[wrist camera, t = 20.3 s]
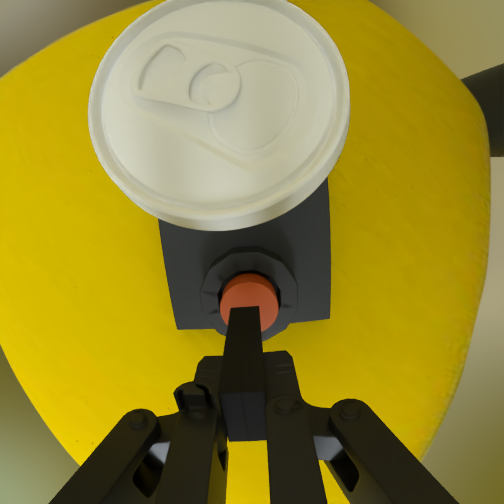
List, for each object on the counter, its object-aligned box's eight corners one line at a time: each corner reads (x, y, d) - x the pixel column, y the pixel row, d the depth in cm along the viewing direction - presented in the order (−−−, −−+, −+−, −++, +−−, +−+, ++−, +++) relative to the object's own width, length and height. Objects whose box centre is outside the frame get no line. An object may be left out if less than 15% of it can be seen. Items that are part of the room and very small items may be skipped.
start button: (219, 274, 18) (216, 284, 16) (274, 270, 18) (276, 279, 16) (225, 323, 19) (223, 336, 17) (277, 319, 19) (279, 332, 17)
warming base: (154, 99, 18) (140, 87, 15) (313, 84, 17) (322, 69, 14) (180, 325, 22) (172, 344, 19) (326, 315, 22) (336, 333, 19)
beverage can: (264, 225, 19) (286, 292, 7) (158, 177, 18) (40, 175, 6) (315, 121, 17) (399, 45, 5) (208, 76, 16) (162, -36, 5)
